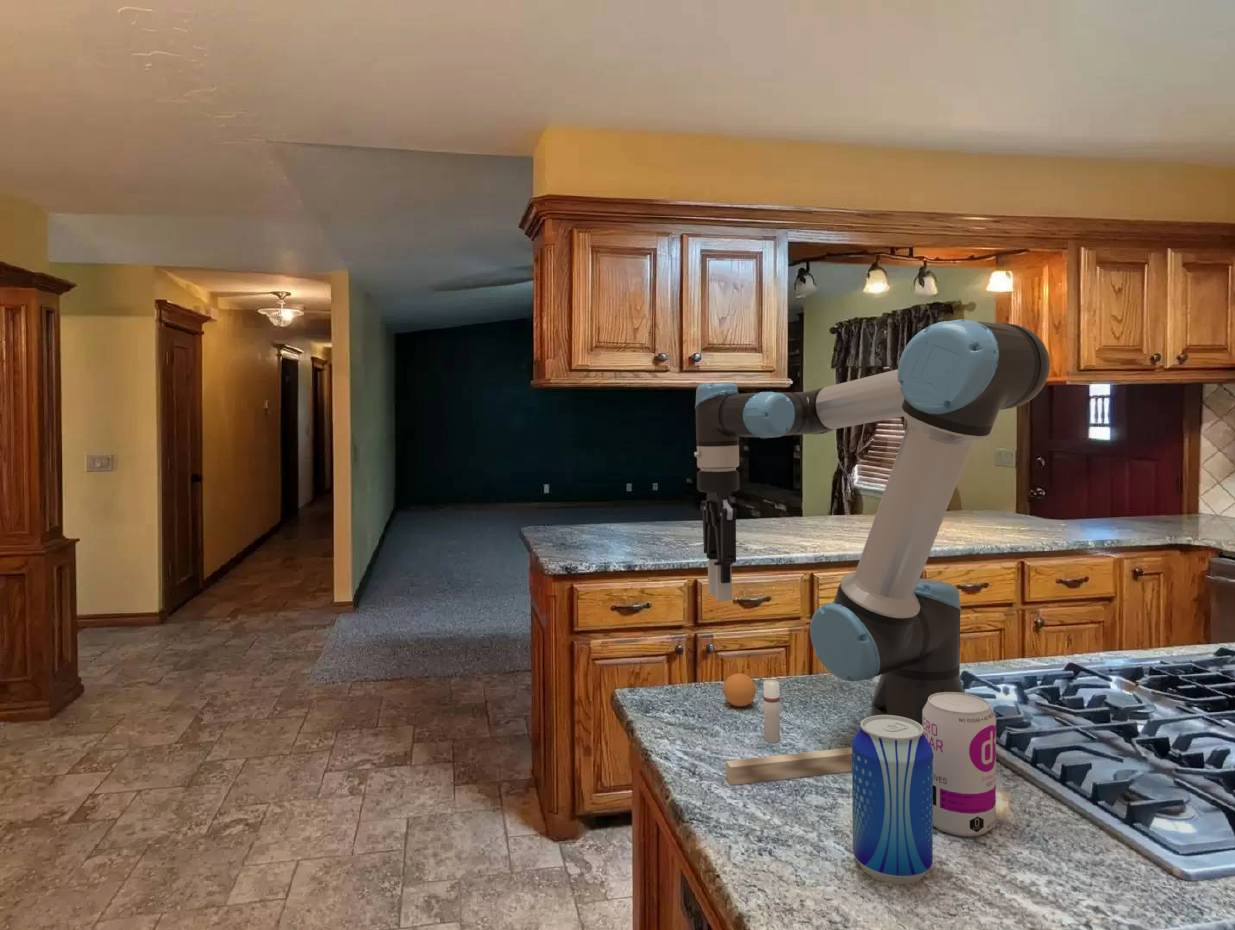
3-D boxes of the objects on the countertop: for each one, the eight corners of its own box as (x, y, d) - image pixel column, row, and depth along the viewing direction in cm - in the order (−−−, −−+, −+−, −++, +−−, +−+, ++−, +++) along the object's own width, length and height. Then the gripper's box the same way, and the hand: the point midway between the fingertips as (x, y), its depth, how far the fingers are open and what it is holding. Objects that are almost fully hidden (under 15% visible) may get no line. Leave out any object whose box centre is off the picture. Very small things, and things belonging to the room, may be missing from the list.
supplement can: (1008, 824, 100) (1009, 703, 99) (968, 846, 95) (969, 719, 94) (948, 799, 106) (949, 685, 105) (908, 818, 102) (908, 700, 101)
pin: (783, 738, 127) (782, 681, 126) (776, 744, 125) (775, 686, 124) (767, 735, 128) (767, 678, 128) (761, 740, 126) (760, 683, 126)
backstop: (873, 762, 118) (873, 745, 118) (880, 767, 116) (880, 750, 116) (726, 778, 114) (725, 761, 114) (730, 785, 112) (730, 767, 112)
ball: (761, 703, 142) (760, 672, 142) (747, 713, 137) (747, 681, 137) (732, 697, 145) (731, 667, 145) (718, 707, 141) (717, 676, 140)
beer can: (939, 891, 86) (939, 743, 85) (856, 884, 88) (855, 739, 87) (925, 849, 95) (925, 713, 93) (850, 843, 96) (849, 710, 95)
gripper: (684, 466, 156) (687, 588, 158) (712, 473, 139) (714, 609, 141) (722, 465, 157) (724, 585, 159) (754, 471, 141) (756, 606, 142)
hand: (720, 596), depth 150 cm, fingers open, 4 cm apart
